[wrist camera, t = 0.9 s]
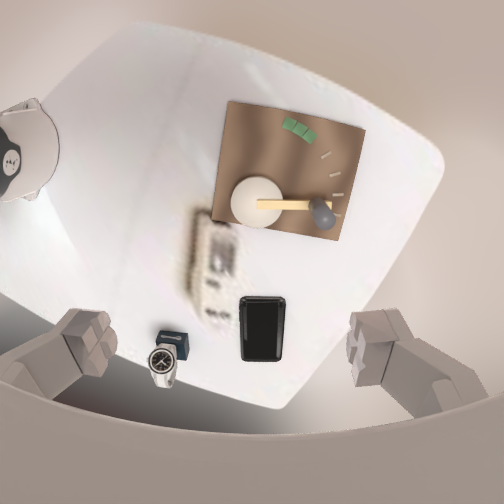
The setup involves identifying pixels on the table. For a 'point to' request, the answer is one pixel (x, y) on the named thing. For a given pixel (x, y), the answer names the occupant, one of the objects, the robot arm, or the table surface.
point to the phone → (261, 328)
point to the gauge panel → (288, 163)
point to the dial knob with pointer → (273, 204)
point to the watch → (167, 356)
